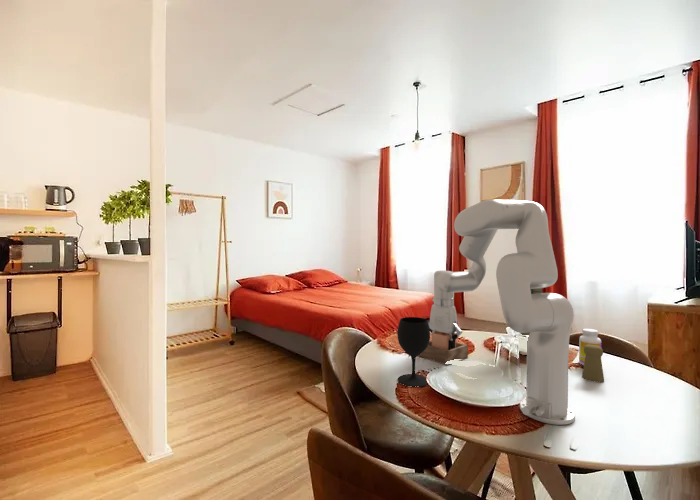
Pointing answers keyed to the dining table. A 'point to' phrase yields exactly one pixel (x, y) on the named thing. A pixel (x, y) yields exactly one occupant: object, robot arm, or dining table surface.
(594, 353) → the cork
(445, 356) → the walnut crate
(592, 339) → the supplement bottle
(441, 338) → the terracotta crate
